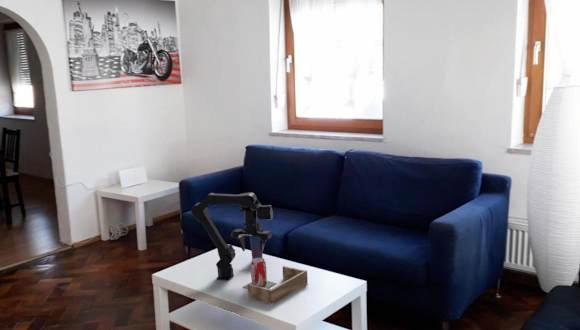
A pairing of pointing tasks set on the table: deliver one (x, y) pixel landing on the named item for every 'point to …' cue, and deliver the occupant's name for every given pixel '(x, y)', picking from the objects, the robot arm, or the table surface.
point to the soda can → (258, 272)
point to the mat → (267, 285)
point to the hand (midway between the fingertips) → (252, 251)
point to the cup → (255, 247)
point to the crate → (279, 286)
